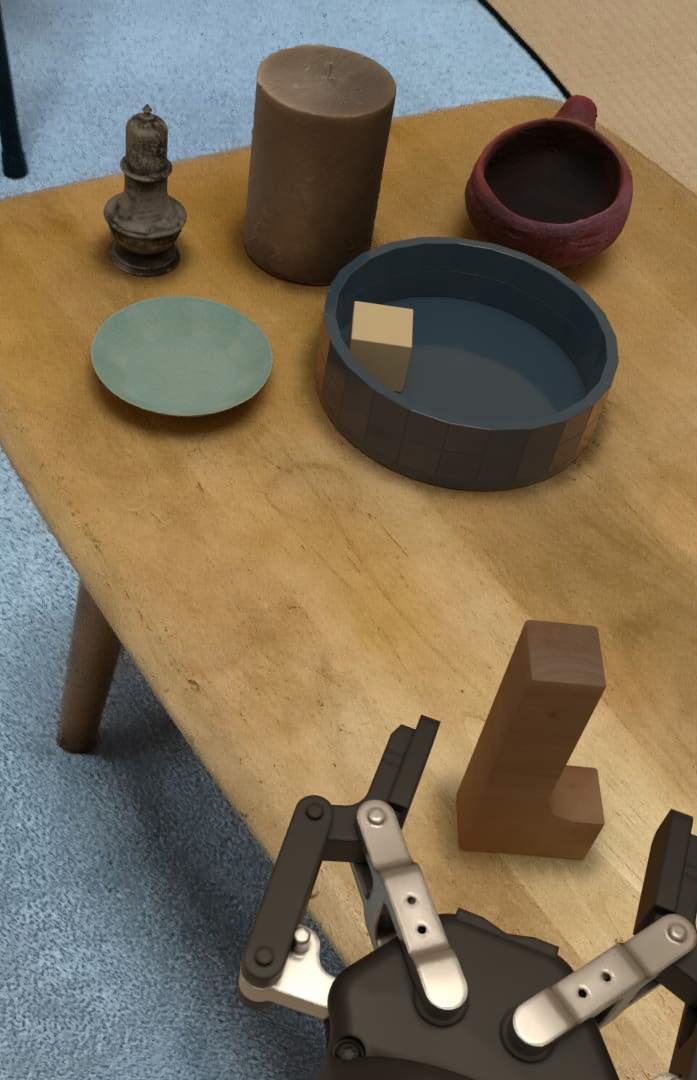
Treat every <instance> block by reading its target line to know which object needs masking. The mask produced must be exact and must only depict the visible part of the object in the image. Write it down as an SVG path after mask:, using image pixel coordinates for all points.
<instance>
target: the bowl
mask: <svg viewBox="0 0 697 1080" xmlns="http://www.w3.org/2000/svg"><path fill="white" fill-rule="evenodd" d="M597 118H598V108H597V106H596V103H595V102H593V100H592V99H591V98H590V97H587V96H585V95H581V94H574V95H572V96H569V97H568V98H567V99H566V100H565V101H564V103H563V105H562V106H561V107H560V108H559V109H558V111H557V112H556V114H555V115H554V116H553V117H542V118H537V119H533V120H528V121H525V122H522V123H518V124H516V125H513V126H511V127H509V128H507V129H505V130H504V131H502V132H501V133H499V134H498V135H496V136H495V137H494V138H493V139H492V140H490V141H489V142H488V143H487V144H486V146H485V147H484V148H483V150H482V152H480V155H479V156H478V158H477V160H476V161H475V162H474V165H473V168H472V171H471V173H470V175H469V178H468V179H467V181H466V185H465V189H464V202H465V204H464V205H465V211H466V213H467V214H466V215H467V217H468V220H469V222H470V224H471V227H472V228H473V229H474V231H475V233H476V234H477V235H478V237H479V238H480V239H481V240H482V242H488V243H491V244H492V243H494V244H497V245H500V246H503V247H506V248H509V249H512V250H515V251H519V252H522V253H525V254H526V255H529V256H531V257H533V258H535V259H537V260H539V261H541V262H543V263H545V264H547V265H549V266H551V267H553V268H555V269H562V268H571V267H576V266H580V265H582V264H584V263H587V262H589V261H591V260H594V259H595V258H596V257H598V256H599V255H601V254H602V253H604V252H605V251H606V250H608V248H610V247H611V246H612V245H613V244H614V243H615V242H616V240H617V239H618V238H619V236H620V235H621V234H622V232H623V230H624V228H625V227H626V226H625V225H626V223H627V221H628V219H629V214H630V211H631V206H632V204H633V203H632V202H633V197H634V196H633V195H634V180H633V174H632V170H631V167H630V166H629V163H628V162H627V160H626V158H625V157H624V155H623V154H622V152H621V151H620V150H619V149H618V148H617V147H616V145H615V144H614V143H613V142H612V141H611V140H610V139H609V138H607V137H606V136H605V135H604V134H603V133H601V132H600V131H599V130H597V129H596V121H597Z"/></svg>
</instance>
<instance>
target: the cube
mask: <svg viewBox="0 0 697 1080" xmlns="http://www.w3.org/2000/svg"><path fill="white" fill-rule="evenodd" d="M412 333H413V309H407V308H400V307H393V306H386V305H380V304H373V303H366V302H359V301H355V302H354V307H353V312H352V318H351V324H350V330H349V335H348V341H347V348H348V350H349V351H350V352H351V354H352V355H353V357H354V358H355V360H356V361H357V363H359V364H360V365H361V366H362V367H363V368H364V369H365V370H367V371H368V372H369V373H370V374H371V375H372V376H373V377H375V378H376V379H377V380H378V381H379V382H380V383H381V384H383V385H384V386H386V387H387V388H389V389H391V390H393V391H395V392H402V390H403V385H404V381H405V376H406V372H407V367H408V363H409V358H410V354H411V349H412Z"/></svg>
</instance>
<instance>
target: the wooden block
mask: <svg viewBox="0 0 697 1080" xmlns="http://www.w3.org/2000/svg"><path fill="white" fill-rule="evenodd" d="M606 688H607V681H606V675H605V669H604V661H603V654H602V648H601V641H600V634H599V629H598V627H597V626H594V625H588V624H575V623H566V622H556V621H547V620H535V619H526V620H525V622H524V623H523V626H522V629H521V631H520V634H519V636H518V638H517V641H516V643H515V645H514V649H513V651H512V653H511V656H510V659H509V661H508V664H507V667H506V669H505V672H504V674H503V677H502V679H501V681H500V684H499V687H498V689H497V692H496V694H495V696H494V699H493V701H492V703H491V707H490V709H489V711H488V713H487V717H486V718H485V722H484V724H483V727H482V729H481V732H480V734H479V737H478V739H477V742H476V744H475V747H474V750H473V751H472V754H471V757H470V759H469V761H468V764H467V767H466V770H465V772H464V774H463V777H462V779H461V782H460V784H459V787H458V789H457V792H456V813H457V815H456V817H457V834H458V835H457V837H458V839H457V840H458V846H459V849H462V850H469V851H471V850H472V851H484V852H497V853H507V854H509V853H510V854H522V855H534V856H535V855H536V856H546V857H547V856H548V857H556V858H557V857H558V858H571V859H585V858H586V857H587V855H588V853H589V851H590V850H591V848H592V846H593V845H594V843H595V841H596V840H597V838H598V836H599V835H600V833H601V831H603V828H604V826H605V815H604V808H603V807H604V806H603V799H602V792H601V785H600V779H599V771H598V769H597V767H592V766H579V765H568V762H569V761H570V758H571V757H572V754H573V753H574V751H575V749H576V748H577V745H578V743H579V741H580V739H581V738H582V735H583V733H584V731H585V729H586V728H587V725H588V723H589V721H590V719H591V717H592V716H593V714H594V711H596V708H597V706H598V704H599V702H600V700H601V698H602V696H603V694H604V692H605V690H606Z"/></svg>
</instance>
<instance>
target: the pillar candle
mask: <svg viewBox="0 0 697 1080" xmlns="http://www.w3.org/2000/svg"><path fill="white" fill-rule="evenodd" d="M257 67H258V68H257V69H256V76H255V81H256V83H255V84H256V85H255V94H254V96H255V97H254V98H255V99H254V109H253V126H252V129H251V144H250V157H249V158H250V159H249V169H248V177H247V180H248V181H247V193H246V194H247V195H246V204H245V206H246V207H245V219H244V220H245V221H244V228H243V235H244V237H243V238H244V248H245V250H246V252H247V255H248V256H249V257H250V259H251V260H252V262H254V263H255V264H256V265H257V266H258V267H260V268H261V269H263V270H264V271H266V272H267V273H268V274H271V275H273V276H276V277H278V278H282V279H284V280H289V281H292V282H297V283H301V284H306V285H314V286H319V285H323V286H324V285H325V286H326V285H331V284H332V282H333V281H334V279H335V277H336V276H337V274H338V273H339V271H340V270H341V269H342V268H343V267H345V266H346V265H347V264H349V263H350V262H351V261H352V260H354V259H355V258H356V257H358V256H359V255H360V254H362V253H364V252H366V251H369V250H371V247H372V243H373V236H374V230H375V220H376V218H377V210H378V207H379V199H380V193H381V187H382V186H381V184H382V181H383V174H384V167H385V160H386V155H387V149H388V143H389V140H390V139H389V138H390V132H391V127H392V121H393V115H394V109H395V104H396V97H397V84H396V81H395V78H394V76H393V75H392V74H391V72H390V71H389V70H388V69H387V68H385V66H383V65H382V64H381V63H379V62H378V61H376V60H374V59H373V58H371V57H369V56H366V55H364V54H362V53H360V52H356V51H354V50H350V49H347V48H343V47H336V46H332V45H331V46H330V45H326V44H322V43H321V44H320V43H318V44H312V43H311V44H309V43H308V44H300V45H294V46H293V47H288V48H281V49H278V51H274V52H272V53H269V55H268V56H266V57H265V58H264V60H262V61H260V64H259V66H257Z"/></svg>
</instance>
